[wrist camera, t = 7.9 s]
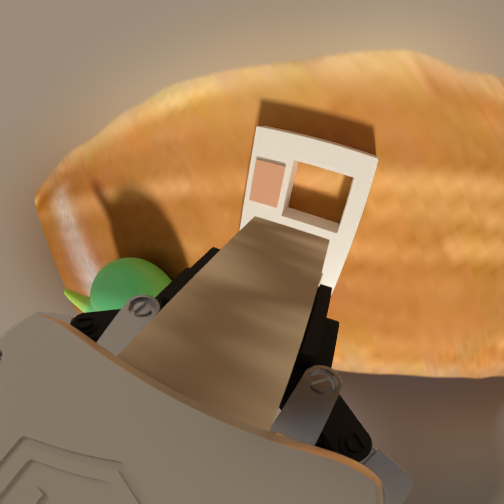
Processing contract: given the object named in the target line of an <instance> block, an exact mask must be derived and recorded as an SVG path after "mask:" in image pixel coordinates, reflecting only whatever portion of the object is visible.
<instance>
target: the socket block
mask: <svg viewBox="0 0 504 504" xmlns="http://www.w3.org/2000/svg"><path fill="white" fill-rule="evenodd" d="M378 160H379V159H378V157H377V156H376V155H373V154H370V153H367V152H364V151H361V150H358V149H355V148H352V147H349V146H345V145H342V144H339V143H335V142H332V141H328V140H325V139H321V138H317V137H313V136H309V135H305V134H301V133H297V132H293V131H288V130H284V129H279V128H274V127H270V126H257V127H256V133H255V139H254V145H253V151H252V157H251V163H250V169H249V175H248V181H247V187H246V193H245V199H244V206H243V212H242V218H241V225H240V230H241V229H242V228H243V227H244V226H245V225H246V224H247V223H248V222H249V221H250V220H251V219H252V218H253V217H254V216H256V217H260V218H263V219H266V220H270V221H273V222H276V223H279V224H282V225H286V226H289V227H292V228H295V229H298V230H301V231H304V232H307V233H311V234H314V235H317V236H320V237H323V238H326V239H329V240H330V241H329V245H328V249H327V253H326V257H325V261H324V265H323V269H322V275H321V278H320V281H319V284H318V287H319V286H320V284H323V285H326V286H329V287H331V288H332V292H333V290H334V287H335V285H336V282H337V280H338V277H339V275H340V272H341V270H342V267H343V265H344V262H345V260H346V257H347V254H348V252H349V249H350V246H351V244H352V241H353V238H354V235H355V233H356V230H357V227H358V224H359V221H360V218H361V215H362V212H363V209H364V206H365V203H366V200H367V197H368V194H369V190H370V187H371V184H372V181H373V177H374V174H375V170H376V167H377V163H378ZM298 162H303V163H307V164H310V165H314V166H317V167H321V168H324V169H328V170H331V171H334V172H337V173H341V174H344V175H347V176H350V177H353V179H352V182H351V186H350V189H349V193H348V196H347V200H346V203H345V206H344V209H343V213H342V216H341V219H340V222H339V223H336V222H333V221H330V220H327V219H324V218H321V217H318V216H315V215H312V214H308V213H305V212H302V211H299V210H296V209H292V208H289V202H290V198H291V193H292V189H293V185H294V180H295V176H296V171H297V167H298ZM332 292H331V294H332Z"/></svg>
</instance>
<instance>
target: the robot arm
mask: <svg viewBox="0 0 504 504" xmlns="http://www.w3.org/2000/svg"><path fill="white" fill-rule="evenodd" d="M219 251H220V249H217V248H215V247H213V248H211V249H210V250H209V251H208V252H207V253H206V254H205V255H204V256H203V257H202V258H201V259H200V260H199V261H197V262H196V263H195V264H194V265H193V266H192V267H191V268H186V269H185V270H184V271H183V272H182V273H180V274H179V275H178V276H177V277H176V278H175V279H174V280H173V281H172V282H171V283H170V284H169V285H168V286H167V287H166V288H164V289H163V290H162V291H161V292H160V293H159V294H158V295H157V296H156V297H155V298H154V297H152V296H149V295H137V296H134V297H132V298H130V299H129V300H128V301H127V302H126V303H125V305H124V306H123V307H122V309H114V310H105V311H95V312H86V313H81V314H79V315H77V316H76V317H75V318H74V317H73V315H65V314H54V313H45V312H37V313H35V314H33V315H31V316H28V317H26V318H24V319H23V320H21V321H20V322H18V323H17V324H15V325H14V326H13V327H11V328H10V329H9V330H8V331H6V332H5V333H4V334H3V335H2V336H1V337H0V504H402V502H403V501H404V500H405V498H406V497H407V496H408V495H409V493H410V491H411V489H412V484H413V483H412V479H411V477H410V476H409V474H408V473H406V472H405V471H404V470H403V469H402V468H400V467H399V466H398V465H397V464H396V463H394V462H393V461H392V460H391V459H390V458H389V457H388V456H386V455H385V454H384V453H383V452H382V451H381V450H380V449H378V450H376V449H374V448H373V447H372V441H371V438H370V436H369V434H368V433H367V432H366V430H365V429H364V428H363V426H362V425H361V423H360V422H359V421H358V420H357V418H356V417H355V415H354V414H353V412H352V411H351V410H350V409H349V407H348V406H347V404H346V403H345V401H344V400H343V399H342V397H341V396H340V395H339V393H340V390H341V387H342V382H341V378H340V376H339V375H338V374H337V372H336V371H335V370H333V369H331V366H332V361H333V356H334V351H335V346H336V340H337V334H338V328H339V322H338V321H335V320H332V319H329V318H326V317H327V312H328V307H329V303H330V298H331V292H332V288H331V287H329V286H326V285H323V284H320V286H319V287H318V288H317V292H316V295H315V299H314V302H313V306H312V309H311V313H310V316H309V319H308V323H307V326H306V329H305V332H304V336H303V339H302V342H301V345H300V348H299V351H298V354H297V357H296V360H295V363H294V366H293V369H292V372H291V375H290V378H289V381H288V383H287V386H286V389H285V392H284V394H283V397H282V400H281V403H280V405H279V408H280V409H281V412H280V413H279V415H278V416H277V418H276V420H275V421H274V422H273V424H272V426H271V428H270V431H266V430H263V429H260V428H258V427H255V426H252V425H250V424H247V423H245V422H242V421H239V420H237V419H235V418H232V417H230V416H227V415H225V414H223V413H220V412H218V411H216V410H214V409H211V408H209V407H207V406H205V405H203V404H201V403H198V402H196V401H194V400H192V399H190V398H188V397H186V396H184V395H182V394H180V393H178V392H176V391H175V390H173V389H171V388H169V387H167V386H165V385H163V384H162V383H160V382H158V381H156V380H155V379H153V378H151V377H149V376H148V375H146V374H144V373H142V372H141V371H139V370H137V369H136V368H134V367H133V366H131V365H129V364H128V363H126V362H125V361H123V360H122V359H120V358H118V357H117V356H118V355H119V354H120V353H121V352H122V350H123V349H124V348H125V347H126V346H127V345H128V344H129V343H130V342H131V341H132V340H133V339H134V338H135V337H136V336H137V335H138V333H139V332H140V331H141V330H142V329H143V328H144V327H145V326H146V325H147V324H148V323H149V322H150V321H151V320H152V319H153V318H154V317H155V316H156V315H157V314H158V313H159V312H160V311H161V309H162V308H163V307H164V306H165V305H166V304H167V303H168V302H169V301H170V300H171V299H172V298H173V297H174V296H175V295H176V294H177V293H178V292H179V291H180V290H181V289H182V288H183V287H184V286H185V285H186V284H187V283H188V282H189V281H190V280H191V279H192V278H193V277H194V276H195V275H196V274H197V273H198V272H199V271H200V270H201V269H202V268H203V267H204V266H205V265H206V264H207V263H208V262H209V261H210V260H211V259H212V258H213V257H214V256H215V255H216V254H217V253H218V252H219Z"/></svg>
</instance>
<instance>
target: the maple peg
mask: <svg viewBox="0 0 504 504" xmlns="http://www.w3.org/2000/svg"><path fill="white" fill-rule="evenodd" d="M329 241H330V240H329V239H326V238H323V237H320V236H317V235H314V234H311V233H307V232H304V231H301V230H298V229H295V228H292V227H289V226H286V225H282V224H279V223H276V222H273V221H270V220H266V219H263V218H260V217H256V216H254V217H253V218H252V219H251V220H250V221H249V222H248V223H247V224H246V225H245V226H244V227H243V228H242V229H241V230H240V231H239V232H238V233H237V234H236V235H235V236H234V237H233V238H232V239H231V240H230V241H229V242H228V243H227V244H226V245H225V246H224V247H223V248H222V249H221V250H220V251H219V252H218V253H217V254H216V255H215V256H214V257H213V258H212V259H211V260H210V261H209V262H208V263H207V264H206V265H205V266H204V267H203V268H202V269H201V270H200V271H199V272H198V273H197V274H196V275H195V276H194V277H193V278H192V279H191V280H190V281H189V282H188V283H187V284H186V285H185V286H184V287H183V288H182V289H181V290H180V291H179V292H178V293H177V294H176V295H175V296H174V297H173V298H172V299H171V300H170V301H169V302H168V303H167V304H166V305H165V306H164V307H163V308H162V309H161V311H160V312H159V313H158V314H157V315H156V316H155V317H154V318H153V319H152V320H151V321H150V322H149V323H148V324H147V325H146V326H145V327H144V328H143V329H142V330H141V331H140V332H139V333H138V335H137V336H136V337H135V338H134V339H133V340H132V341H131V342H130V343H129V344H128V345H127V346H126V347H125V348H124V349H123V350H122V352H121V353H120V354H119V355H118V356H117V357H118V358H120V359H122V360H123V361H125V362H126V363H128V364H129V365H131V366H133V367H134V368H136V369H137V370H139V371H141V372H142V373H144V374H146V375H148V376H149V377H151V378H153V379H155V380H156V381H158V382H160V383H162V384H163V385H165V386H167V387H169V388H171V389H173V390H175V391H176V392H178V393H180V394H182V395H184V396H186V397H188V398H190V399H192V400H194V401H196V402H198V403H201V404H203V405H205V406H207V407H209V408H211V409H214V410H216V411H218V412H220V413H223V414H225V415H227V416H230V417H232V418H235V419H237V420H239V421H242V422H245V423H247V424H250V425H252V426H255V427H258V428H260V429H263V430H266V431H270V428H271V426H272V423H273V421H274V418H275V415H276V413H277V410H278V408H279V405H280V403H281V400H282V397H283V394H284V392H285V389H286V386H287V383H288V381H289V378H290V375H291V372H292V369H293V366H294V363H295V360H296V357H297V354H298V351H299V348H300V345H301V342H302V339H303V336H304V332H305V329H306V326H307V323H308V319H309V316H310V313H311V309H312V306H313V302H314V299H315V295H316V292H317V288H318V284H319V281H320V277H321V273H322V269H323V265H324V261H325V257H326V253H327V249H328V245H329Z"/></svg>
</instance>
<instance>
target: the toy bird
mask: <svg viewBox="0 0 504 504" xmlns="http://www.w3.org/2000/svg"><path fill="white" fill-rule="evenodd" d="M171 282H172V281H171V279H170V278H169V277H168V276H167V275H166V274H165V273H164V272H163V271H162V270H161V269H160V268H159V267H157V266H156V265H154V264H152V263H151V262H149V261H146V260H144V259H140V258H134V257H127V258H120V259H117V260H114V261H112V262H110V263H108V264H107V265H106V266H104V267H103V268H102V269H101V270H100V271H99V273H98V274H97V276H96V277H95V279H94V281H93V284H92V287H91V292H90V297H87V296H84V295H82V294H79V293H77V292H74V291H71V290H68V289H64V293H65V295H66V296H67V297H68V298H69V300H70V301H71V302H72V303H74V304H75V305H76V306H77V307H78V308H79V309H80V310H82V311H83V312H84V313H86V312H95V311H105V310H114V309H122V307H123V306H124V305H125V303H126V302H127V301H128V300H129V299H130V298H132V297H134V296H137V295H149V296H152V297H154V298H155V297H156V296H157V295H158V294H159V293H160V292H161V291H162V290H163V289H164V288H166V287H167V286H168V285H169V284H170V283H171Z"/></svg>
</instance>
